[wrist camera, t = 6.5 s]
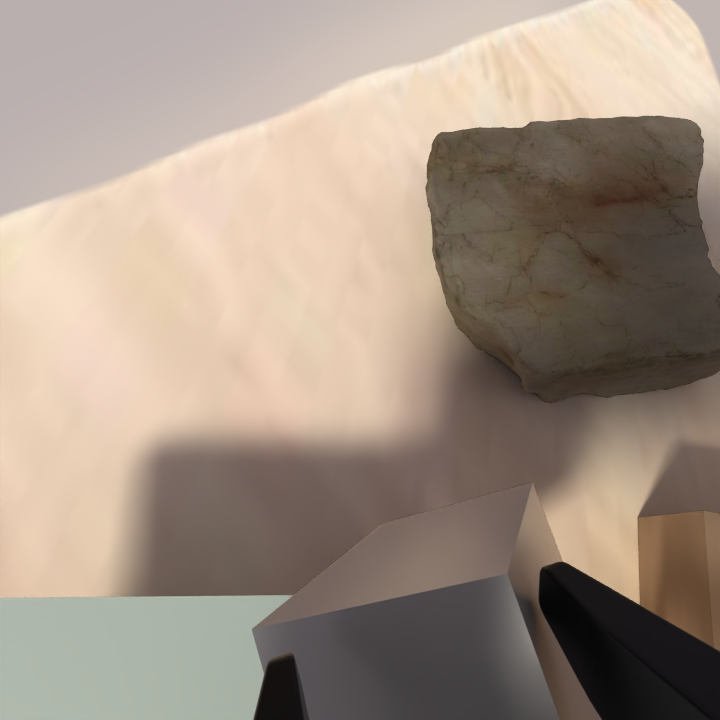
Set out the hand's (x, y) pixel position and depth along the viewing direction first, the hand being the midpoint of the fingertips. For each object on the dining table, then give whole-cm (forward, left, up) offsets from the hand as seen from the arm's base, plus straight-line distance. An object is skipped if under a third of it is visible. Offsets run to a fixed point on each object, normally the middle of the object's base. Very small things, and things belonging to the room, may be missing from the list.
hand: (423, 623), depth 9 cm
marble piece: (+16, -12, -14) cm, 24 cm away
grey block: (0, -3, -7) cm, 8 cm away
